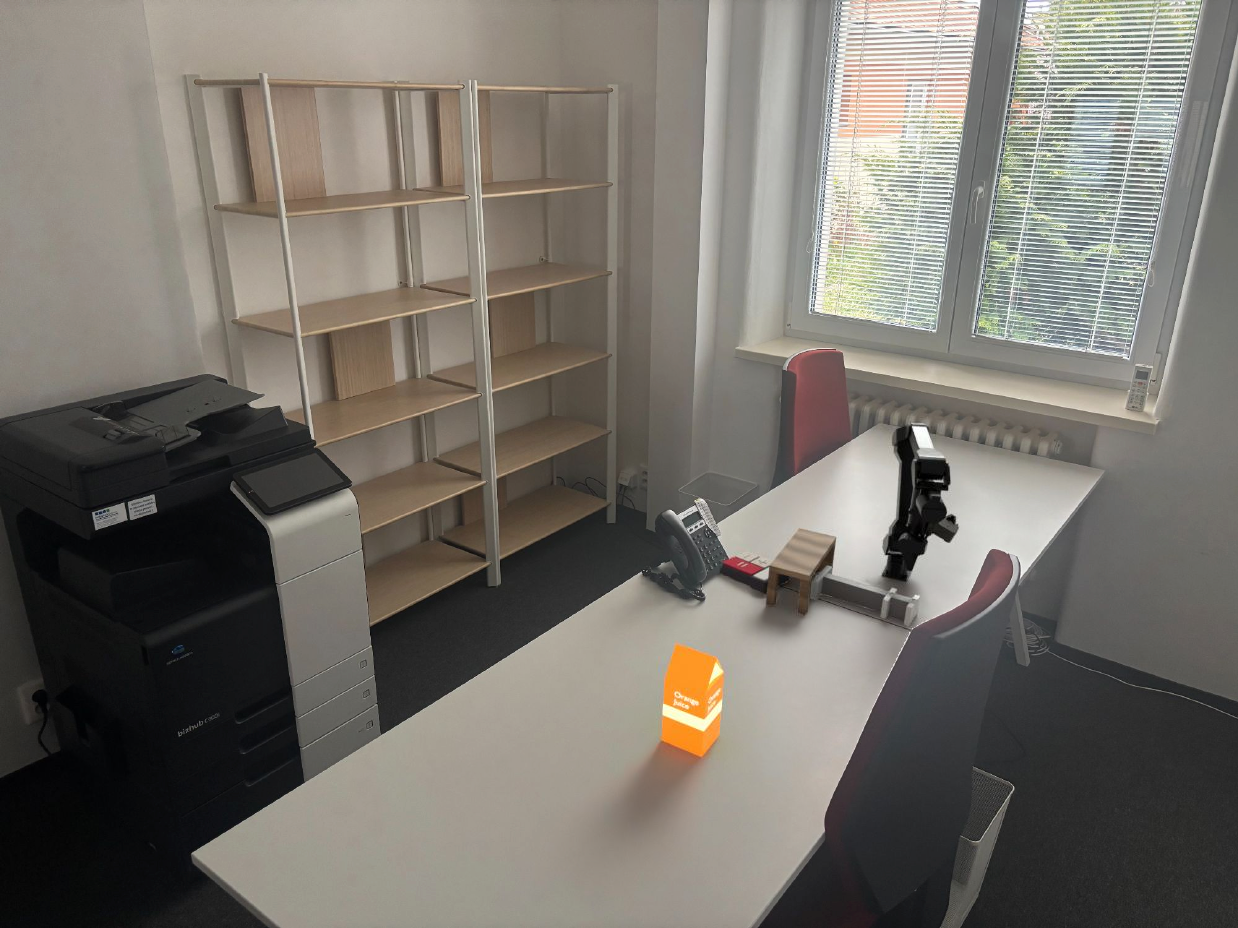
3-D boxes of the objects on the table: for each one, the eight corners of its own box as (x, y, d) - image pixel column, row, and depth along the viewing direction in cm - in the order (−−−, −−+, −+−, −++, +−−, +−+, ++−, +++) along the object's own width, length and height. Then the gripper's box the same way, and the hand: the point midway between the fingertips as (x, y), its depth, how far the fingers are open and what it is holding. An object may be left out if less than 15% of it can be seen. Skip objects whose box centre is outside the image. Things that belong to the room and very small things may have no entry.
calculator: (745, 548, 237) (791, 566, 226) (745, 563, 238) (790, 580, 228) (719, 561, 229) (765, 579, 219) (718, 576, 231) (764, 595, 221)
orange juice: (701, 757, 163) (707, 668, 156) (660, 740, 168) (664, 652, 160) (719, 734, 170) (726, 647, 162) (680, 718, 174) (684, 633, 167)
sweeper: (824, 582, 227) (826, 565, 225) (918, 611, 214) (922, 593, 213) (809, 598, 219) (811, 580, 217) (906, 629, 207) (909, 610, 205)
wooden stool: (795, 564, 235) (799, 528, 231) (831, 574, 231) (836, 536, 227) (765, 604, 216) (769, 565, 212) (804, 615, 211) (809, 575, 207)
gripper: (951, 528, 195) (940, 588, 201) (965, 498, 211) (954, 555, 216) (901, 516, 200) (892, 576, 206) (918, 488, 215) (909, 544, 221)
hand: (913, 562), depth 212 cm, fingers open, 9 cm apart
